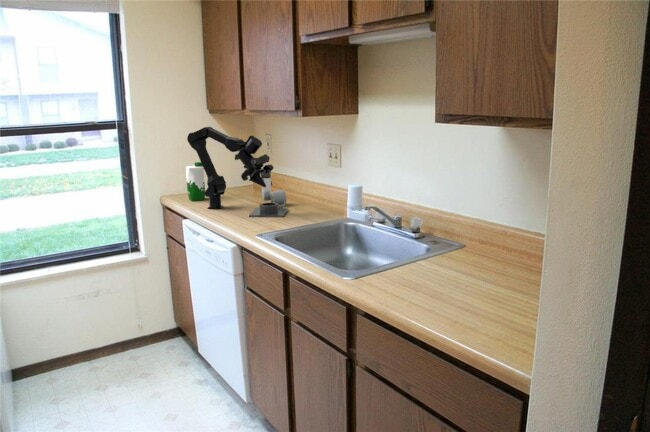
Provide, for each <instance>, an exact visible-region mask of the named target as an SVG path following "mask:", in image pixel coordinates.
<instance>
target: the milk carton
mask: <svg viewBox="0 0 650 432" xmlns="http://www.w3.org/2000/svg"><path fill="white" fill-rule="evenodd" d="M185 171H186V172H185V175H186V188H187V195H188V196H187V197H188V199H189V201H191V202H199V201H206V196H205V193H204V192H205V191H206V185H205V170H204V168H203V165H202V163H201V161H198V162H197V161H196V162H194V165H189V166H185Z"/></svg>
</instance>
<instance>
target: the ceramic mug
mask: <svg viewBox="0 0 650 432" xmlns="http://www.w3.org/2000/svg"><path fill="white" fill-rule="evenodd" d="M267 203H277V204H278V208H285V207H286V206H285V205H286V204H287V194H286V191H285V190H284V189H280V190H279V189H278V190H273V191H272V190H271V200H268V201H267Z"/></svg>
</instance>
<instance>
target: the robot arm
mask: <svg viewBox="0 0 650 432" xmlns="http://www.w3.org/2000/svg"><path fill="white" fill-rule="evenodd" d="M208 138H210V139H213V141H217V142H218V143H220V144H222V145H223V146H225V148H226V149H227V150H228V151H229V152H232V153H235V154H234V160H235V161H239V160H240V162H241V163H242V164H243V165H244V166H243V168H244V169H245V170H244V171H243V172H242V174H241V175H240V177H241V179H242V181H249V182H251V183H254V184H257V185H259V186H260V187H261V186H263V187H266V184H265V183H264V181H263V180H262V178H261V173H271V172H272V171H273V169H275V167H274V166H273V165H272V164H270V163H269V162H270V156H269V155H268V153H267V154H266V153H265V154H263V155H260V156H258V157H254V156H253V155H255V154H256V153H257V152H258V151H259V150H260V148H261V147H262V145H263V142H262V141H261V140H260V138H258V137H255V136H254V135H249V136H248V139H247V140H246V141H244V140H243V139H242V138H238V137H232V136H229V135H227V134H225V133H223V132H220V131H218V130H217V129H215V128H213V127H211V126H203V127H202V128H200V129H198V130H196V131H194V132H190V133H188V134H187V138H186V140H187V143H188V144H189V145H190V147H191V148H192V150H194V151H195V152H196V153H197V156H198V159H199V162H201V163H202V166H203V168H204V173H205V175H206V177H207V180H206V181H207V183H206V184H207V188H206V189H205V192H204V193H205V198H206V197H208V204H209V206H208V207H207V209H209V210H210V209H211V210H212V209H213V210H218V209H222V208H223V207H224V205H222V197H221V196H224V195H225V192H226V188H227V182H226V181H225V177H224V176H223V175H220V174H218V173H217V170H216V168H215V166H214V164H213V161H212V159H211V156H210V154H209V152H208V149H207V140H208ZM237 152H238V153H237ZM266 163H269V164H266ZM271 186H273V183H272V181H271Z"/></svg>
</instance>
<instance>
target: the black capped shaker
mask: <svg viewBox="0 0 650 432" xmlns="http://www.w3.org/2000/svg"><path fill="white" fill-rule="evenodd" d="M271 176H272V175H271V172H270V173H261V175H260V177H261V178H262V180H263V181H264V183H265V184H266V187H263V186H261V185H260V187H261V201H265V202H266V201H267V202H268V200H271V192H272V185H271V182H272V180H271V179H272V177H271Z"/></svg>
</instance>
